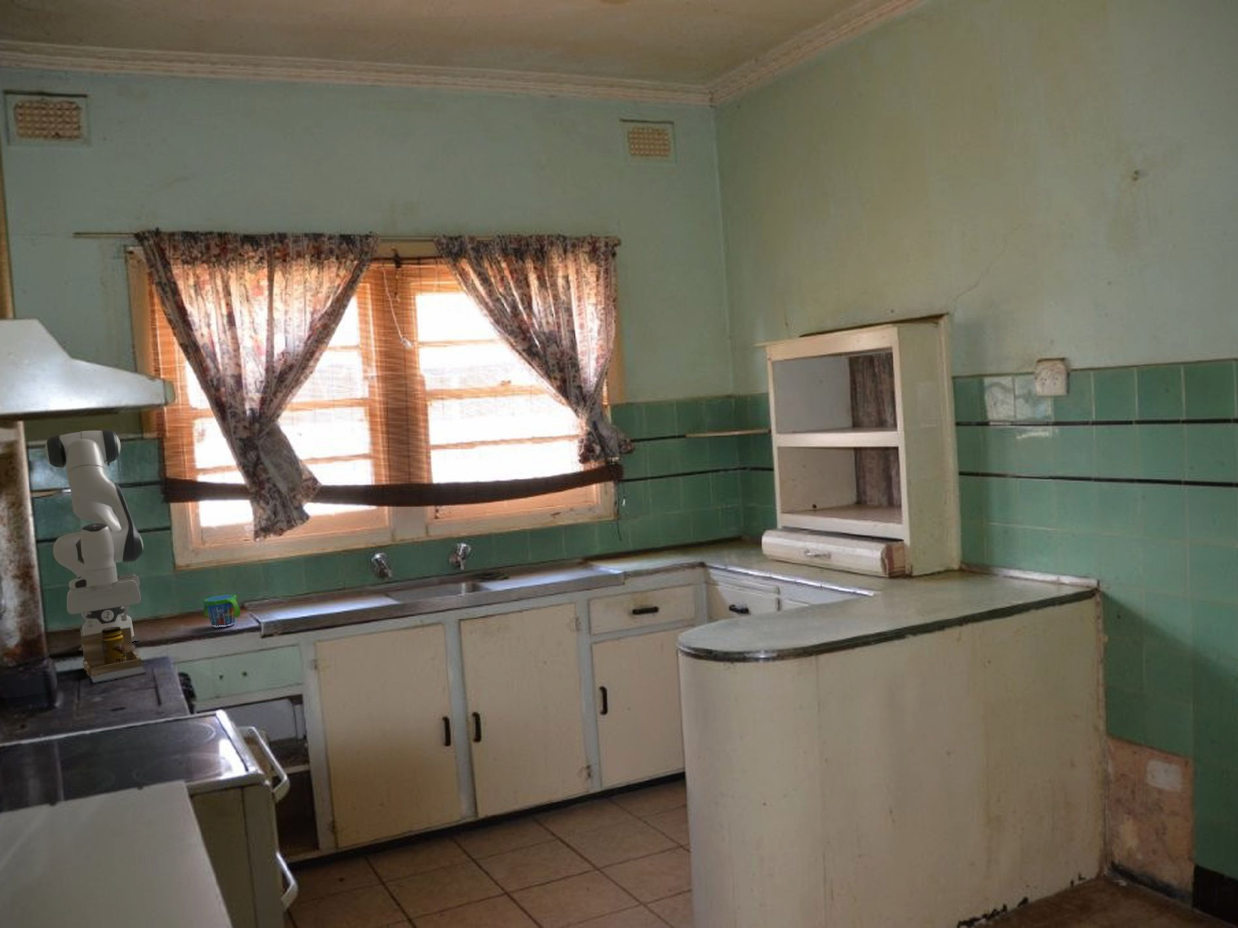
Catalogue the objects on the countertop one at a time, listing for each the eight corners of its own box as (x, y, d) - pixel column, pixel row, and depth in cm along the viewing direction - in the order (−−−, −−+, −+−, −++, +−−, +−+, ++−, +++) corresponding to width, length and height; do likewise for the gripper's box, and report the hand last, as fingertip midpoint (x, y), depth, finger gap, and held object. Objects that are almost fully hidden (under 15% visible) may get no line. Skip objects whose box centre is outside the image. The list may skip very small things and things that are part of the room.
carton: (83, 668, 336) (79, 635, 335) (135, 658, 343) (131, 626, 343) (88, 677, 323) (84, 643, 322) (142, 666, 330) (138, 634, 329)
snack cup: (196, 628, 383) (193, 599, 382) (223, 621, 392) (219, 593, 391) (224, 631, 374) (220, 601, 373) (250, 624, 383) (247, 595, 382)
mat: (90, 678, 321) (90, 676, 321) (142, 668, 328) (141, 666, 328) (93, 684, 314) (93, 681, 314) (146, 673, 321) (146, 671, 321)
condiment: (130, 666, 332) (125, 627, 331) (99, 672, 328) (94, 633, 327) (125, 662, 338) (120, 624, 338) (95, 668, 334) (90, 629, 333)
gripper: (137, 571, 339) (142, 615, 340) (63, 582, 329) (69, 628, 329) (140, 573, 333) (145, 618, 334) (64, 584, 323) (70, 631, 324)
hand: (107, 623), depth 332 cm, fingers open, 8 cm apart
